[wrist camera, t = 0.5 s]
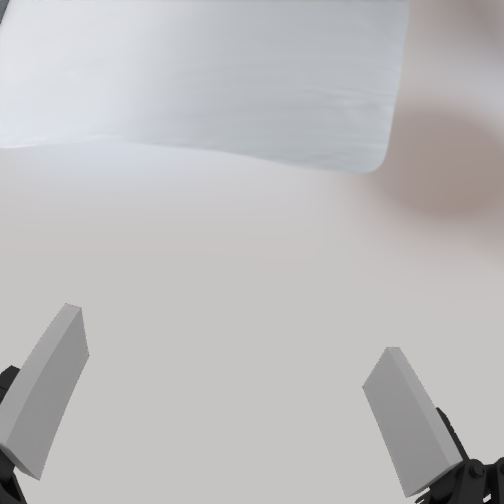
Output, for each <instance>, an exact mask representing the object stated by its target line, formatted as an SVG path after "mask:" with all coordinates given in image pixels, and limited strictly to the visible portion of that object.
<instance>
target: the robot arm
mask: <svg viewBox="0 0 504 504" xmlns="http://www.w3.org/2000/svg"><path fill="white" fill-rule="evenodd" d="M88 357H89V352H88V347H87V342H86V336H85V330H84V324H83V316H82V309H81V307H78V306H74V305H70V304H66V303H65V305H64V306H63V307H62V309H61V310H60V311H59V313H58V314H57V316H56V317H55V318H54V320H53V321H52V323H51V324H50V325H49V327H48V328H47V330H46V331H45V333H44V334H43V335H42V337H41V338H40V340H39V341H38V343H37V344H36V346H35V348H34V349H33V351H32V352H31V354H30V355H29V357H28V358H27V360H26V361H25V363H24V365H23V366H22V368H21V369H19V368H16V367H14V366H12V365H11V366H10V367H9V368H7V369H6V370H5V371H3V372H2V373H1V374H0V504H27V503H26V500H25V498H24V496H23V493H22V491H21V488H20V486H19V484H18V481H17V478H16V476H15V474H14V472H13V470H14V467H15V466H16V467H17V468H18V469H19V470H20V471H21V472H23V473H25V474H27V475H29V476H31V477H33V478H35V479H37V480H40V478H41V474H42V471H43V468H44V465H45V462H46V459H47V456H48V453H49V450H50V447H51V445H52V442H53V439H54V437H55V434H56V431H57V429H58V426H59V424H60V421H61V419H62V416H63V414H64V411H65V409H66V406H67V404H68V402H69V399H70V397H71V395H72V392H73V390H74V388H75V385H76V383H77V381H78V379H79V377H80V374H81V372H82V370H83V368H84V366H85V364H86V361H87V359H88ZM363 390H364V392H365V394H366V397H367V399H368V402H369V404H370V406H371V409H372V411H373V414H374V416H375V418H376V421H377V423H378V426H379V428H380V431H381V433H382V436H383V438H384V441H385V443H386V446H387V448H388V451H389V454H390V456H391V459H392V462H393V464H394V467H395V470H396V472H397V475H398V478H399V480H400V483H401V486H402V489H403V491H404V494H405V497H406V498H407V497H410V496H413V495H415V494H418V493H420V492H421V491H423V490H424V489H426V488H428V487H429V488H430V490H429V491H428V492H426V493H425V494H423V495H422V496H420V497H419V498H418V499H417V500H416V501H415V503H416V504H417V503H418V502H420V501H421V500H423V499H424V501H423V502H421V503H420V504H504V457H502V458H500V459H499V460H498V461H497V462H495V463H494V464H490V465H483V464H482V463H481V462H480V461H479V460H477V459H471V460H470V459H469V457H468V456H467V454H466V452H465V450H464V448H463V446H462V444H461V442H460V441H459V438H458V437H457V435H456V433H454V429H453V427H452V426H450V422H449V420H448V418H447V417H446V415H445V414H444V413H443V412H442V411H441V410H440V409H439V408H438V407H437V408H435V406H434V404H433V403H432V401H431V399H430V397H429V396H428V394H427V392H426V391H425V389H424V387H423V385H422V384H421V382H420V380H419V379H418V377H417V375H416V374H415V372H414V370H413V369H412V367H411V365H410V364H409V362H408V361H407V359H406V357H405V356H404V354H403V352H402V351H401V349H400V348H399V347H387V348H386V349H385V351H384V353H383V354H382V356H381V358H380V359H379V361H378V363H377V364H376V366H375V368H374V370H373V371H372V373H371V374H370V376H369V377H368V379H367V380H366V382H365V384H364V385H363ZM489 494H491V499H490V500H488V501H487V502H485V503H484V502H483V498H485V497H486V496H488V495H489Z"/></svg>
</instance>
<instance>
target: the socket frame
mask: <svg viewBox="0 0 504 504" xmlns="http://www.w3.org/2000/svg"><path fill="white" fill-rule="evenodd" d="M8 1H9V0H0V22H1V20H2V17H3V14H4V11H5V9H6V6H7V4H8Z"/></svg>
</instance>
